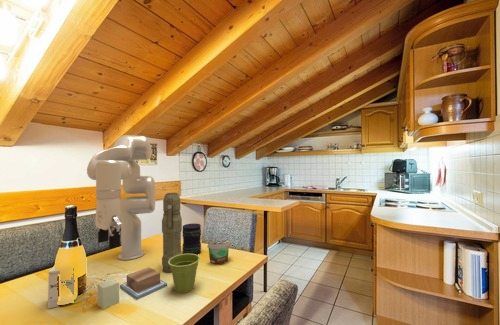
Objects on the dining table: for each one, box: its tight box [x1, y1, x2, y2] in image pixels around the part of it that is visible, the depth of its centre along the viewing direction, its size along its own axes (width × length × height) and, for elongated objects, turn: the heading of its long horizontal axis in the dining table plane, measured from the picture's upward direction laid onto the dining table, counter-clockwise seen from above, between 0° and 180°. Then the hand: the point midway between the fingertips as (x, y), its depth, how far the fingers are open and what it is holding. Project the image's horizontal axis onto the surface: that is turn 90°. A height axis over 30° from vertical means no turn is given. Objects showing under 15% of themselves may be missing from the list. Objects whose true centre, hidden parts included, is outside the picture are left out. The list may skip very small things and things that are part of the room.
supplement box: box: [47, 264, 75, 309], centre depth 82 cm, size 7×7×13 cm
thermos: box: [161, 192, 183, 274], centre depth 107 cm, size 9×12×35 cm
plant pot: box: [168, 253, 201, 294], centre depth 89 cm, size 12×12×11 cm
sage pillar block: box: [96, 278, 120, 310], centre depth 80 cm, size 5×5×7 cm
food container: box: [206, 237, 231, 266], centre depth 113 cm, size 12×6×10 cm, turn 131°
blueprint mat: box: [119, 279, 168, 301], centre depth 91 cm, size 14×12×1 cm
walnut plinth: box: [126, 266, 161, 293], centre depth 91 cm, size 9×9×4 cm
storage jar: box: [181, 223, 202, 256], centre depth 126 cm, size 10×10×15 cm
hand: (108, 244), depth 80 cm, fingers open, 9 cm apart
